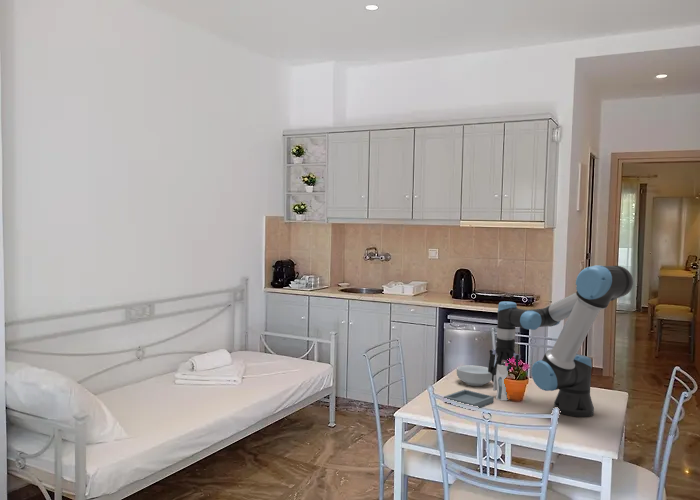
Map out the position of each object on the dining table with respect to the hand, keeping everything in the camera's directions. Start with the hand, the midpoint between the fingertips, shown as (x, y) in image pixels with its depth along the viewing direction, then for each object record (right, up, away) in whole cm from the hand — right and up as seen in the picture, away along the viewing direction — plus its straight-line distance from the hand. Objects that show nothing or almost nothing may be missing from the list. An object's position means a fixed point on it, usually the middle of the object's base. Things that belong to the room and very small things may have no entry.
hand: (503, 391), depth 259 cm
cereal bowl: (-8, -2, +23) cm, 24 cm away
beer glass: (0, -3, 0) cm, 3 cm away
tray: (-16, -3, -7) cm, 18 cm away
